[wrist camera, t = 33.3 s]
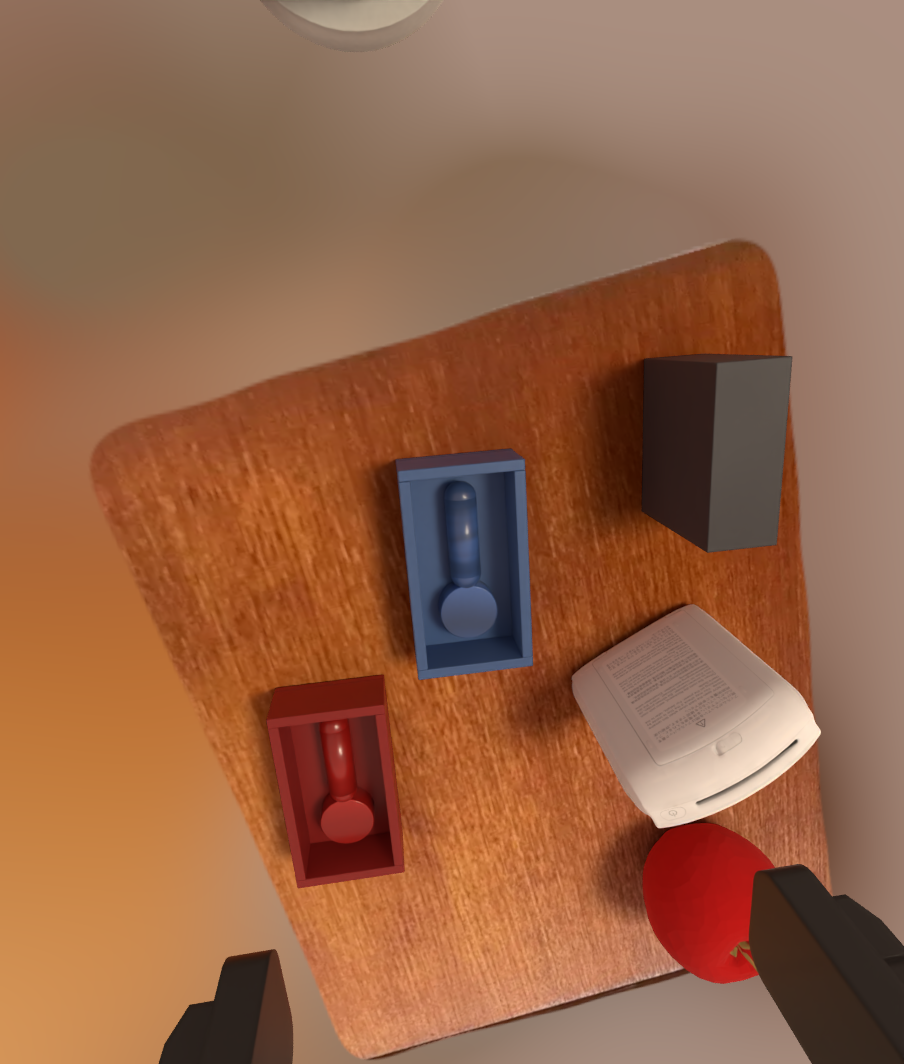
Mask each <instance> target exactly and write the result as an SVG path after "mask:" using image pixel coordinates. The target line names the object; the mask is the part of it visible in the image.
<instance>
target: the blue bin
mask: <svg viewBox="0 0 904 1064" xmlns="http://www.w3.org/2000/svg"><path fill="white" fill-rule="evenodd" d="M396 469H397V479H398V489H399V499H400V508H401V518H402V528H403V538H404V548H405V558H406V567H407V577H408V587H409V597H410V607H411V617H412V626H413V636H414V646H415V655H416V663H417V671H418V679H419V680H422V679H430V678H438V677H446V676H454V675H462V674H470V673H478V672H486V671H494V670H502V669H510V668H518V667H526V666H533V657H532V656H533V651H532V626H531V601H530V576H529V550H528V525H527V500H526V475H525V459H524V458H522V457H521V456H520V455H518V454H517V453H516V452H515V451H513V450H512V449H501V450H490V451H480V452H469V453H458V454H448V455H437V456H426V457H416V458H405V459H396ZM455 481H466V482H468V483H469V484H471V485H472V486H473V488H474V489H475V492H476V499H477V515H478V531H479V547H480V563H481V577H480V581H482V582H484V583H485V584H486V585H487V586H488V587H489V588H490V590H491V592H492V594H493V596H494V598H495V600H496V603H497V608H498V613H497V617H496V620H495V622H494V624H493V626H492V627H491V628H490V629H489V630H488V631H487V632H486V633H484V634H482V635H481V636H478V637H475V638H460V637H457V636H455V635H453V634H451V633H450V632H449V631H448V630H447V629H446V628H445V627H444V625H443V623H442V620H441V617H440V612H439V607H438V603H439V598H440V595H441V593H442V591H443V590H444V588H445V587H446V586H447V585H448V584H450V583H451V582H453V581H452V579H451V576H450V565H449V552H448V539H447V526H446V513H445V500H444V494H445V491H446V488H447V487H448V486H449V485H450V484H451V483H453V482H455Z"/></svg>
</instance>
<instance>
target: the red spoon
mask: <svg viewBox="0 0 904 1064" xmlns="http://www.w3.org/2000/svg"><path fill="white" fill-rule="evenodd" d="M319 731H320V737H321V743H322V750H323V756H324V762H325V769H326V775H327V781H328V788H329V794H328V795H327V796H326V798H325V799H324V801H323V804H322V811H321V820H320V825H321V829H322V831H323V833H324V834H325V835H326V836H327V837H328V838H329V839H331V840H332V841H335V842H338V843H343V844H348V843H354V842H357V841H360V840H361V839H363V838H365V837H366V836H367V835H368V834H369V833H370V831H371V830H372V828H373V825H374V801H373V799H372V797H371V795H370V794H369V793H368V792H367V791H365V790H364V789H362V788H360V787H357V778H356V771H355V764H354V756H353V749H352V742H351V735H350V728H349V721H348V718H347V719H340V720H332V721H324V722H319Z"/></svg>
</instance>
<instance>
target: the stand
mask: <svg viewBox="0 0 904 1064" xmlns="http://www.w3.org/2000/svg"><path fill="white" fill-rule="evenodd" d="M791 367H792V357H791V356H763V355H729V354H695V355H683V356H671V357H659V358H646V359H644V401H643V460H642V512H644V513H645V514H647V515H649V516H650V517H652V518H653V519H655V520H657V521H658V522H660V523H661V524H663V525H665V526H666V527H668V528H669V529H671V530H672V531H674V532H676V533H677V534H679V535H680V536H682V537H684V538H685V539H687V540H688V541H690V542H691V543H693V544H695V545H696V546H698V547H699V548H701V549H703V550H704V551H706V552H717V551H726V550H735V549H744V548H753V547H762V546H771V545H776V544H777V533H778V521H779V510H780V498H781V486H782V474H783V462H784V450H785V438H786V427H787V415H788V403H789V391H790V379H791Z"/></svg>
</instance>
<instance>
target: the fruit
mask: <svg viewBox="0 0 904 1064" xmlns="http://www.w3.org/2000/svg"><path fill="white" fill-rule="evenodd" d="M772 868H775V867H774V865H773V864H772V863H771V861H770V860H769V859H768V858H767V857H766V856H765V855H764V854H763V853H762V851H761V850H760V849H758V848H757V847H756V846H755V845H753V844H752V843H751V842H749V841H748V840H747V839H745V838H743V837H742V836H740V835H739V834H737V833H735V832H733V831H731V830H729V829H727V828H725V827H722V826H719V825H717V824H710V823H694V824H688V825H682V826H678V827H675V828H672V829H670V830H668V831H666V832H665V833H664V834H663V835H662V836H661V838H660V839H659V840H658V841H657V842H656V843H655V844H654V846H653V847H652V849H651V850H650V852H649V853H648V856H647V859H646V862H645V865H644V869H643V897H644V902H645V906H646V910H647V915H648V919H649V921H650V924H651V926H652V929H653V931H654V933H655V935H656V936H657V938H658V939H659V941H660V942H661V944H662V945H663V947H664V948H665V949H666V950H667V952H668V953H669V954H670V955H671V956H672V957H673V958H674V959H675V960H676V961H677V962H678V963H679V964H681V965H682V966H683V967H684V968H685V969H686V970H688V971H689V972H691V973H692V974H694V975H696V976H697V977H699V978H701V979H704V980H707V981H710V982H713V983H721V984H724V983H730V982H736V981H741V980H746V979H748V978H751V977H754V976H756V975H759V974H758V971H757V969H756V967H755V964H754V961H753V958H752V955H751V951H750V946H749V925H750V913H751V901H752V889H753V879H754V875H755V873H756V872H757V871H760V870H766V869H772Z"/></svg>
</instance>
